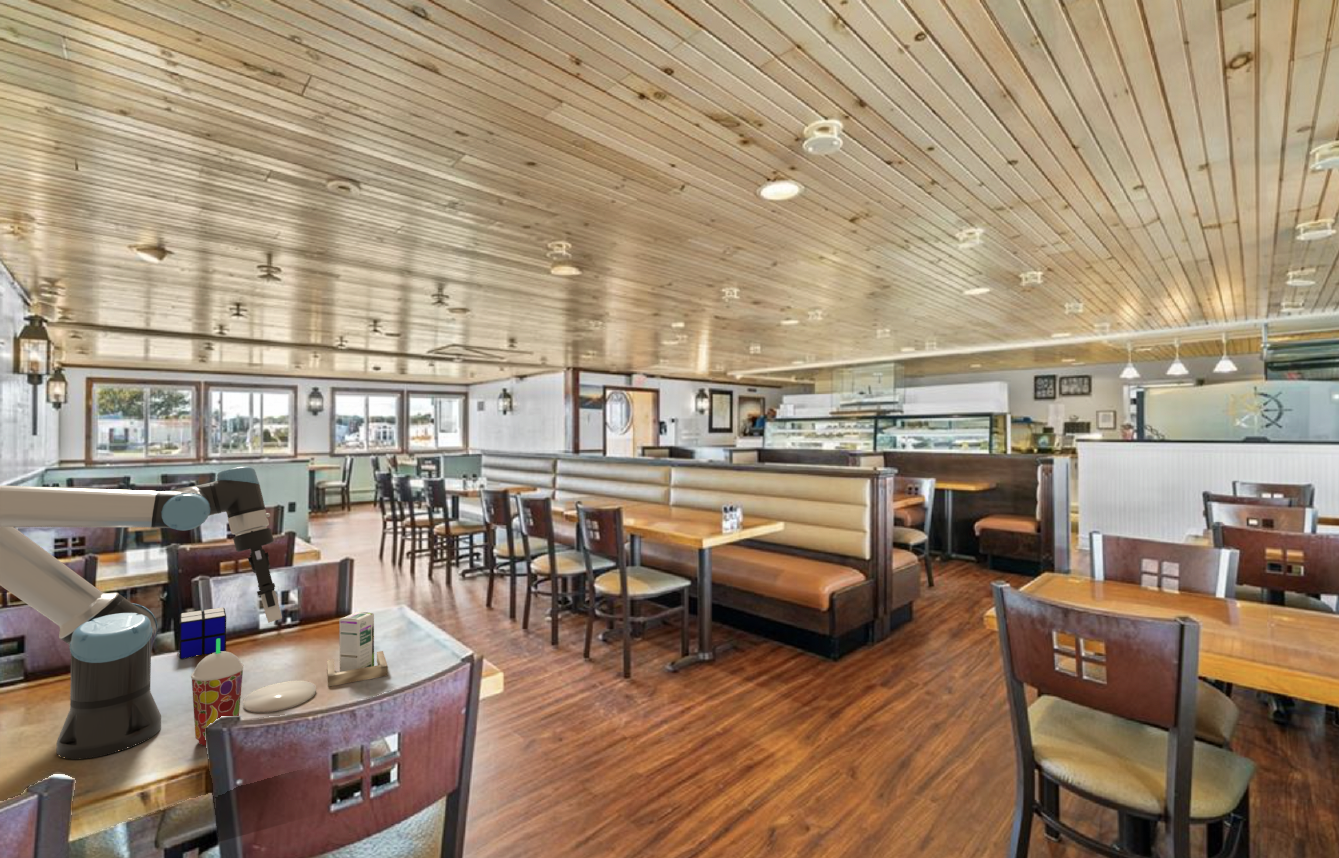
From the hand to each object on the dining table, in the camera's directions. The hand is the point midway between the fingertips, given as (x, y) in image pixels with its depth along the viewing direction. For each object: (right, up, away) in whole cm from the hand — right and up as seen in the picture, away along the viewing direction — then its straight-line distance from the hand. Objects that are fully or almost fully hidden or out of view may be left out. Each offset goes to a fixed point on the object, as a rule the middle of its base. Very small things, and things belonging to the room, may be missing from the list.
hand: (274, 618), depth 141 cm
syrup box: (+14, -17, +11) cm, 25 cm away
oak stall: (+14, -17, +11) cm, 25 cm away
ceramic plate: (+4, -17, -4) cm, 18 cm away
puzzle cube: (-36, -17, +24) cm, 47 cm away
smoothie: (+3, -17, -22) cm, 28 cm away
